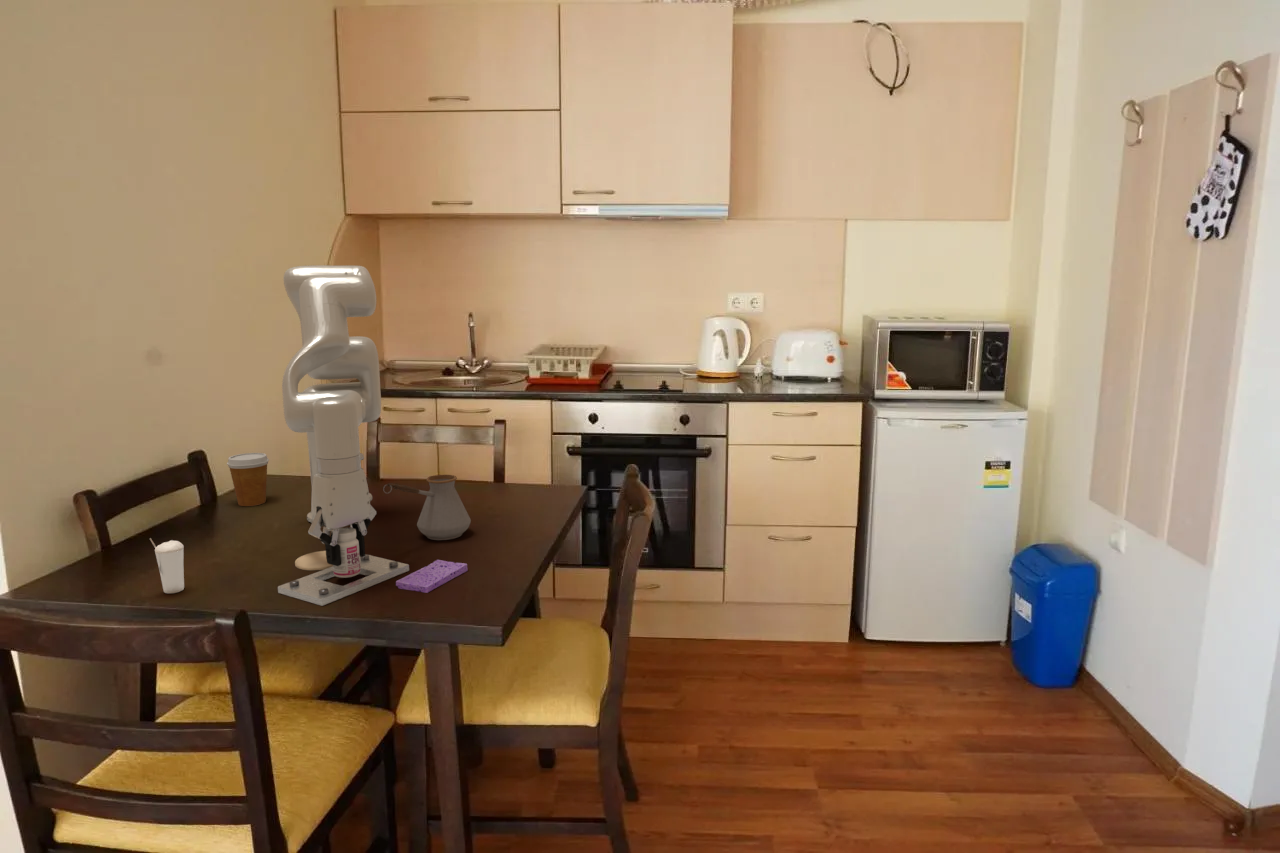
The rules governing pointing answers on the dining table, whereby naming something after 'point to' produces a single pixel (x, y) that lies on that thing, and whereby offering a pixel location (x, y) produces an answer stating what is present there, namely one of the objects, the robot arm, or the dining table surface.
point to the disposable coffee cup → (249, 477)
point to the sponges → (431, 576)
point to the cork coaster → (313, 561)
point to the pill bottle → (348, 554)
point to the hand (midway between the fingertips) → (346, 558)
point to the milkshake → (171, 565)
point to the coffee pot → (440, 508)
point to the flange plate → (325, 592)
